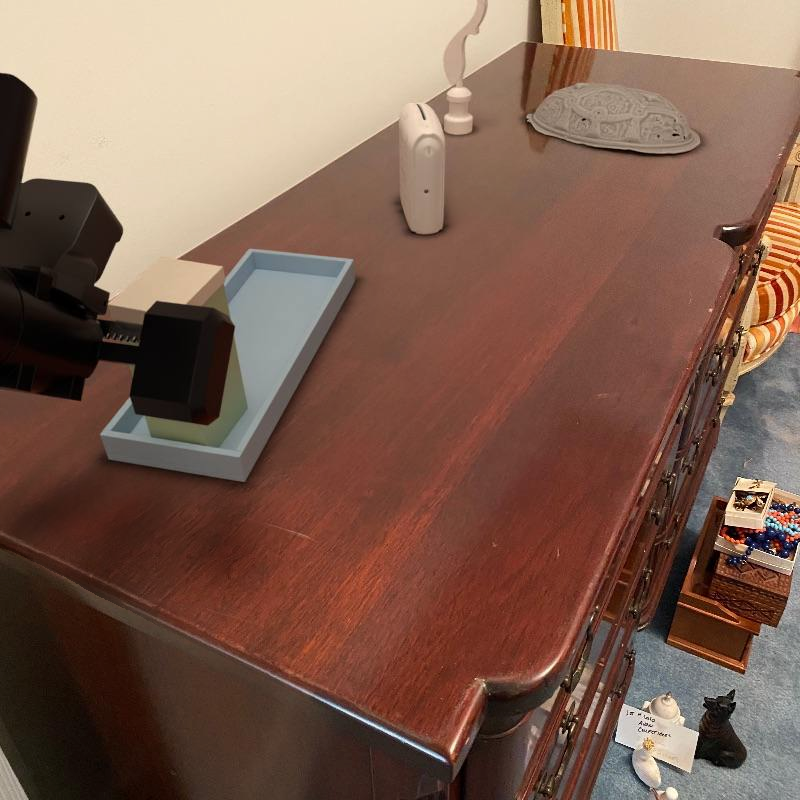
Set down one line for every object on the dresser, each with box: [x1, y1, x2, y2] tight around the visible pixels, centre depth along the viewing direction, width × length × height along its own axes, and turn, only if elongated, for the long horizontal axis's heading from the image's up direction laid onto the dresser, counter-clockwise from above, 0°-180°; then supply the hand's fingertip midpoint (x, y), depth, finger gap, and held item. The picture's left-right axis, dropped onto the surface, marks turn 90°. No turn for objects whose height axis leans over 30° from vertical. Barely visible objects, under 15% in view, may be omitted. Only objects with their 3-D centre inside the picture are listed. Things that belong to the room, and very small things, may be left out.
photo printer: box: [398, 101, 446, 235], centre depth 85 cm, size 10×4×12 cm, turn 8°
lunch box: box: [107, 256, 248, 448], centre depth 56 cm, size 7×5×13 cm
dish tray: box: [99, 248, 356, 483], centre depth 67 cm, size 29×11×3 cm, turn 166°
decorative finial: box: [442, 0, 489, 136], centre depth 102 cm, size 6×4×25 cm
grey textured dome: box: [525, 82, 701, 155], centre depth 107 cm, size 16×25×7 cm, turn 54°
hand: (141, 369), depth 50 cm, fingers open, 9 cm apart
